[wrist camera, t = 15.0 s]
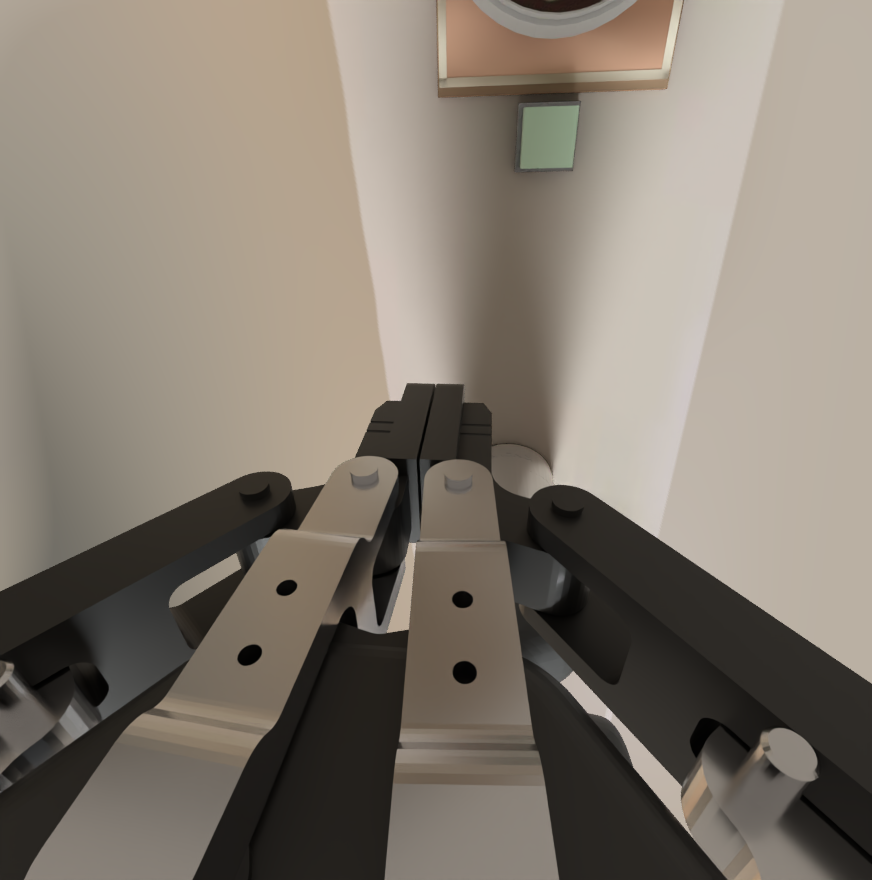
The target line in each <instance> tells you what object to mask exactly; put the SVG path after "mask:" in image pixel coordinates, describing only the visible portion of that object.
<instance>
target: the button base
mask: <svg viewBox="0 0 872 880" xmlns="http://www.w3.org/2000/svg"><path fill="white" fill-rule="evenodd" d="M577 105H579V110H580V101H567V102H539V103H519V104H518V119H517V136H516V154H515V172H545V171H573V167H572V168H533V169H521V168H520V154H521V138H522V121H523V108H524V107H548V106H577ZM578 119H579V114H578ZM577 128H578V123H577ZM576 136H577V131H576ZM575 145H576V140H575ZM574 154H575V149H574ZM573 163H574V158H573Z"/></svg>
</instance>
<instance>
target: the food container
mask: <svg viewBox="0 0 872 880" xmlns="http://www.w3.org/2000/svg"><path fill="white" fill-rule="evenodd" d="M636 1H637V0H473V2H474V3H475V4H476V5H477V6H478V7H479V8H480V9H481V11H483V12H484V13H485V14H487V15H488V16H489V17H490V18H492V19H493V20H494V21H495V22H497V23H498V24H500V25H502V26H504V27H506V28H508V29H510V30H512V31H514V32H516V33H519V34H523V35H526V36H530V37H533V38H546V39H557V38H565V37H572V36H576V35H579V34H582V33H585V32H588V31H591V30H594V29H596V28H598V27H599V26H601V25H603V24H605V23H607V22H609V21H611V20H613V19H614V18H616V17H617V16H618V15H620V14H621V13H622V12H624V11H625V10H626V9H628V8H629V7H630V6H632V5H633V4H634V3H635V2H636Z"/></svg>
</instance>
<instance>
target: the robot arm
mask: <svg viewBox="0 0 872 880" xmlns="http://www.w3.org/2000/svg"><path fill="white" fill-rule="evenodd" d="M491 426H492V413H491V412H490V411H489V410H488V408H487V407H486V406H485V405H484V403H464V384H437V385H436V387H435V384H418V383H407V385H406V388H405V391H404V394H403V397H402V399H401V401H386V402H385V403H384V404H382V405H381V406H380V407H379V408H377V409H376V410H375V412H374V414H373V417H372V419H371V423H370V424H369V426H368V429H367V432H366V433H365V436H364V438H363V440H362V442H361V445H360V447H359V449H358V452H357V454H356V457H355V458H353V459H350V460H348V461H345V462H343V463H342V464H340V465H339V466H338V467H337V468H335V470H334V471H333V473H332V474H331V476H330V477H329V479H328V481H327V482H326V484H324V485H320V486H316V487H310V488H304V489H298V490H292V486H291V482H290V480H289V479H288V478H287V477H286V476H284V475H282V474H280V473H276V472H257V473H252V474H248V475H245V476H243V477H240V478H238V479H236V480H234V481H232V482H230V483H227V484H225V485H223V486H221V487H219V488H217V489H215V490H213V491H211V492H209V493H206V494H204V495H202V496H200V497H198V498H196V499H194V500H192V501H190V502H188V503H185V504H183V505H181V506H179V507H177V508H175V509H173V510H171V511H169V512H167V513H165V514H163V515H160V516H158V517H156V518H154V519H152V520H150V521H148V522H145V523H143V524H142V525H139V526H137V527H135V528H133V529H131V530H129V531H127V532H125V533H122V534H120V535H118V536H116V537H114V538H112V539H110V540H108V541H106V542H103V543H101V544H99V545H97V546H95V547H93V548H91V549H89V550H87V551H85V552H83V553H80V554H78V555H76V556H74V557H72V558H70V559H68V560H66V561H64V562H61V563H59V564H57V565H55V566H53V567H51V568H49V569H47V570H45V571H42V572H40V573H38V574H36V575H34V576H32V577H30V578H28V579H26V580H24V581H22V582H19V583H17V584H15V585H13V586H11V587H9V588H7V589H5V590H3V591H0V880H872V684H871V683H870V682H868V681H867V680H865V679H864V678H862V677H861V676H859V675H858V674H856V673H855V672H854V671H852V670H851V669H849V668H848V667H846V666H845V665H843V664H842V663H840V662H839V661H837V660H836V659H834V658H833V657H831V656H830V655H828V654H827V653H826V652H824V651H823V650H821V649H820V648H818V647H816V646H815V645H814V644H812V643H811V642H809V641H808V640H806V639H805V638H803V637H802V636H800V635H799V634H798V633H796V632H795V631H793V630H792V629H790V628H789V627H787V626H786V625H784V624H783V623H781V622H780V621H778V620H777V619H775V618H774V617H772V616H771V615H770V614H768V613H767V612H765V611H764V610H762V609H761V608H759V607H758V606H756V605H755V604H753V603H752V602H750V601H749V600H747V599H746V598H744V597H743V596H742V595H740V594H738V593H737V592H735V591H734V590H732V589H731V588H730V587H728V586H727V585H725V584H724V583H722V582H721V581H719V580H718V579H716V578H715V577H714V576H712V575H710V574H709V573H708V572H706V571H705V570H703V569H702V568H700V567H699V566H697V565H696V564H694V563H693V562H691V561H690V560H688V559H687V558H686V557H684V556H683V555H681V554H680V553H678V552H677V551H675V550H674V549H672V548H671V547H669V546H668V545H666V544H665V543H663V542H662V541H660V540H659V539H658V538H656V537H655V536H653V535H652V534H650V533H649V532H647V531H646V530H644V529H643V528H641V527H640V526H638V525H637V524H635V523H634V522H633V521H631V520H630V519H628V518H627V517H625V516H624V515H622V514H621V513H619V512H618V511H616V510H615V509H613V508H612V507H610V506H609V505H607V504H606V503H605V502H603V501H602V500H600V499H599V498H597V497H596V496H594V495H593V494H591V493H589V492H587V491H585V490H583V489H580V488H577V487H573V486H567V485H554V484H553V478H552V472H551V470H550V467H549V465H548V463H547V462H546V461H545V459H544V458H543V457H542V456H541V455H539V454H538V453H537V452H535V451H533V450H532V449H530V448H527V447H524V446H521V445H515V444H499V445H495V446H492V436H491V435H492V427H491ZM409 542H410V543H416V550H415V562H414V574H413V586H412V599H411V611H410V623H409V630H404V631H398V632H392V633H387V630H388V626H389V623H390V619H391V616H392V613H393V609H394V606H395V602H396V599H397V596H398V593H399V589H400V586H401V582H402V579H403V576H404V573H405V557H406V554H407V548H408V544H409ZM235 553H236V554H237V556H238V559H239V562H240V565H241V569H240V570H238V571H236V572H235V573H233V574H231V575H230V576H228V577H226V578H225V579H223V580H221V581H220V582H218V583H216V584H215V585H213V586H211V587H209V588H208V589H206V590H204V591H203V592H201V593H199V594H198V595H196V596H195V597H193V598H191V599H189V600H188V601H186V602H185V603H183V604H181V605H179V606H176V607H172V608H169V599H170V597H171V595H172V593H173V592H174V591H175V589H177V588H178V587H179V586H180V585H181V584H182V583H184V582H186V581H188V580H189V579H191V578H193V577H195V576H196V575H198V574H200V573H201V572H203V571H205V570H207V569H209V568H210V567H212V566H214V565H215V564H217V563H219V562H221V561H222V560H224V559H226V558H228V557H229V556H231V555H233V554H235ZM572 671H574V672H575V673H576V674H577V675H578V676H579V677H580V678H581V679H582V680H583V681H584V683H585V684H587V686H588V687H589V688H590V689H591V690H592V691H593V692H594V693H595V694H596V695H597V696H598V697H599V698H600V700H601V701H602V702H603V703H604V704H605V705H606V706H607V707H608V708H609V709H610V710H611V711H612V712H613V713H614V714H615V715H616V717H617V718H618V719H619V720H620V721H621V722H622V723H623V724H624V725H625V726H626V727H627V728H628V729H629V730H630V731H631V732H632V734H634V736H635V737H636V738H637V739H638V740H639V741H640V742H641V743H642V744H643V745H644V746H645V747H646V748H647V750H648V751H649V752H650V753H651V754H652V755H653V756H654V757H655V758H656V759H657V760H658V761H659V762H660V763H661V764H662V766H663V767H665V769H666V770H667V771H668V772H669V773H670V774H671V775H672V776H673V777H674V778H675V779H676V780H677V781H678V783H679V784H680V785H681V786H682V790H681V804H682V810H683V814H684V818H685V821H686V823H687V826H688V828H689V830H690V832H691V834H692V835H693V838H694V839H695V840H694V839H693V838H692V837H691V836H690V834H689V833H688V832H687V831H686V830H685V828H684V827H683V826H682V825H681V824H680V823H679V821H678V820H677V819H676V818H675V817H674V815H673V814H672V813H671V812H670V811H669V809H668V808H667V807H666V806H665V805H664V803H663V802H662V801H661V800H660V799H659V798H658V796H657V795H656V794H655V793H654V792H653V790H652V789H651V788H650V787H649V786H648V785H647V783H646V782H645V781H644V780H643V779H642V777H641V776H640V775H639V774H638V773H637V772H636V770H635V769H634V768H633V766H632V762H631V759H630V756H629V753H628V751H627V748H626V745H625V743H624V741H623V739H622V737H621V735H620V733H619V732H618V730H617V729H616V727H615V726H614V725H613V724H612V723H611V722H610V721H609V720H607V719H606V718H604V717H602V716H598V715H593V714H588V713H587V712H586V711H585V710H584V709H583V707H582V706H581V705H580V704H579V703H578V702H577V700H576V699H575V698H574V697H573V696H572V694H571V693H570V692H568V690H567V689H566V688H565V687H564V686H563V685H562V684H560V682H561V681H562V680H564V679H565V678H566V677H567V676H569V675H570V673H571V672H572Z"/></svg>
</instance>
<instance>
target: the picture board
mask: <svg viewBox="0 0 872 880" xmlns="http://www.w3.org/2000/svg"><path fill="white" fill-rule="evenodd" d="M683 3H684V0H637V1H636V2H635V3H634V4H633V5H632V6H630V7H629V8H628V9H626V10H625V11H624V12H622V13H621V14H620V15H618V16H617V17H616V18H614V19H613V20H611V21H609V22H607V23H605V24H603V25H601V26H599V27H598V28H596V29H594V30H591V31H588V32H585V33H582V34H579V35H576V36H572V37H565V38H557V39H546V38H533V37H530V36H526V35H523V34H519V33H516V32H514V31H512V30H510V29H508V28H506V27H504V26H502V25H500V24H498V23H497V22H495V21H494V20H493V19H492V18H490V17H489V16H488V15H487V14H485V13H484V12H483V11H481V9H480V8H479V7H478V6H477V5H476V4H475V3H474V2H473V0H436V5H437V60H438V97H439V98H443V97H471V96H498V95H525V94H552V93H580V92H607V91H634V90H661V89H667V86H668V81H669V76H670V71H671V65H672V60H673V55H674V50H675V45H676V39H677V34H678V29H679V24H680V19H681V13H682V8H683Z"/></svg>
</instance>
